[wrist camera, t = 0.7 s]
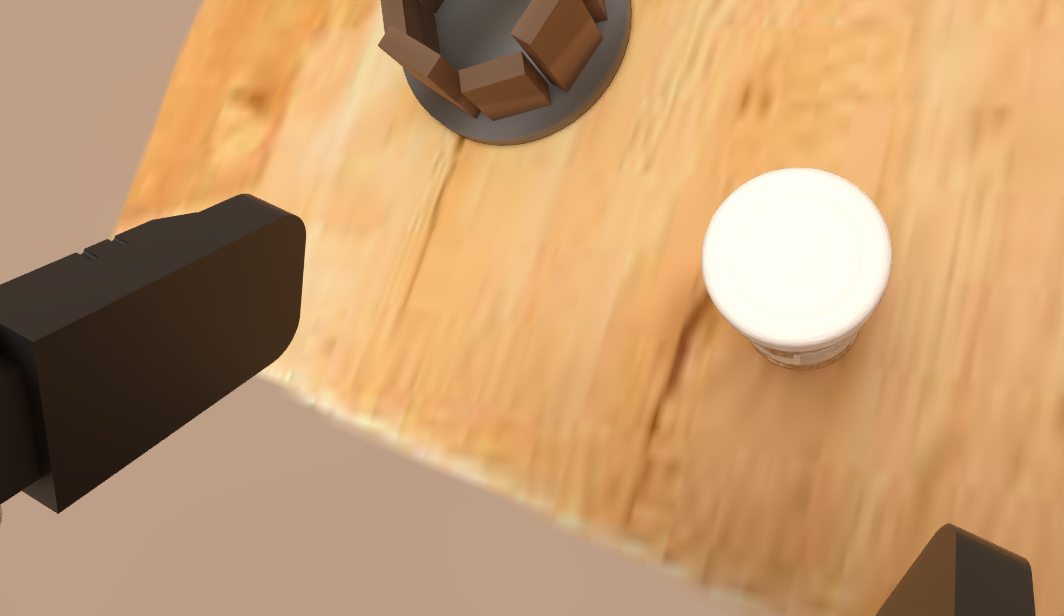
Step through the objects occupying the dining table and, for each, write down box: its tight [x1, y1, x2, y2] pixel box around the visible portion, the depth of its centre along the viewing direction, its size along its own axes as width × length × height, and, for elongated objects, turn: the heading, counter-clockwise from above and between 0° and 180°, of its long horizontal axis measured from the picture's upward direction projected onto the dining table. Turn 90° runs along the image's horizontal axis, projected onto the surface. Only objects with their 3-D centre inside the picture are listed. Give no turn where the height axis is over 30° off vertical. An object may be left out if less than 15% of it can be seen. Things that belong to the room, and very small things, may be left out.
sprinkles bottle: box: [701, 168, 892, 370], centre depth 26 cm, size 5×5×13 cm
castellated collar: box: [378, 0, 631, 145], centre depth 36 cm, size 11×11×6 cm
